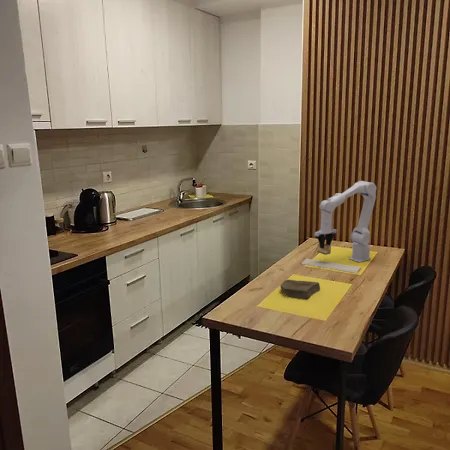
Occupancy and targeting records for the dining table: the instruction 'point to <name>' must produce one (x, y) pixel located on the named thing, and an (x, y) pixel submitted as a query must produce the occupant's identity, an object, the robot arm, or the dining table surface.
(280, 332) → the dining table surface
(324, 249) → the block
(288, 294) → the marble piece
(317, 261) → the baseboard
